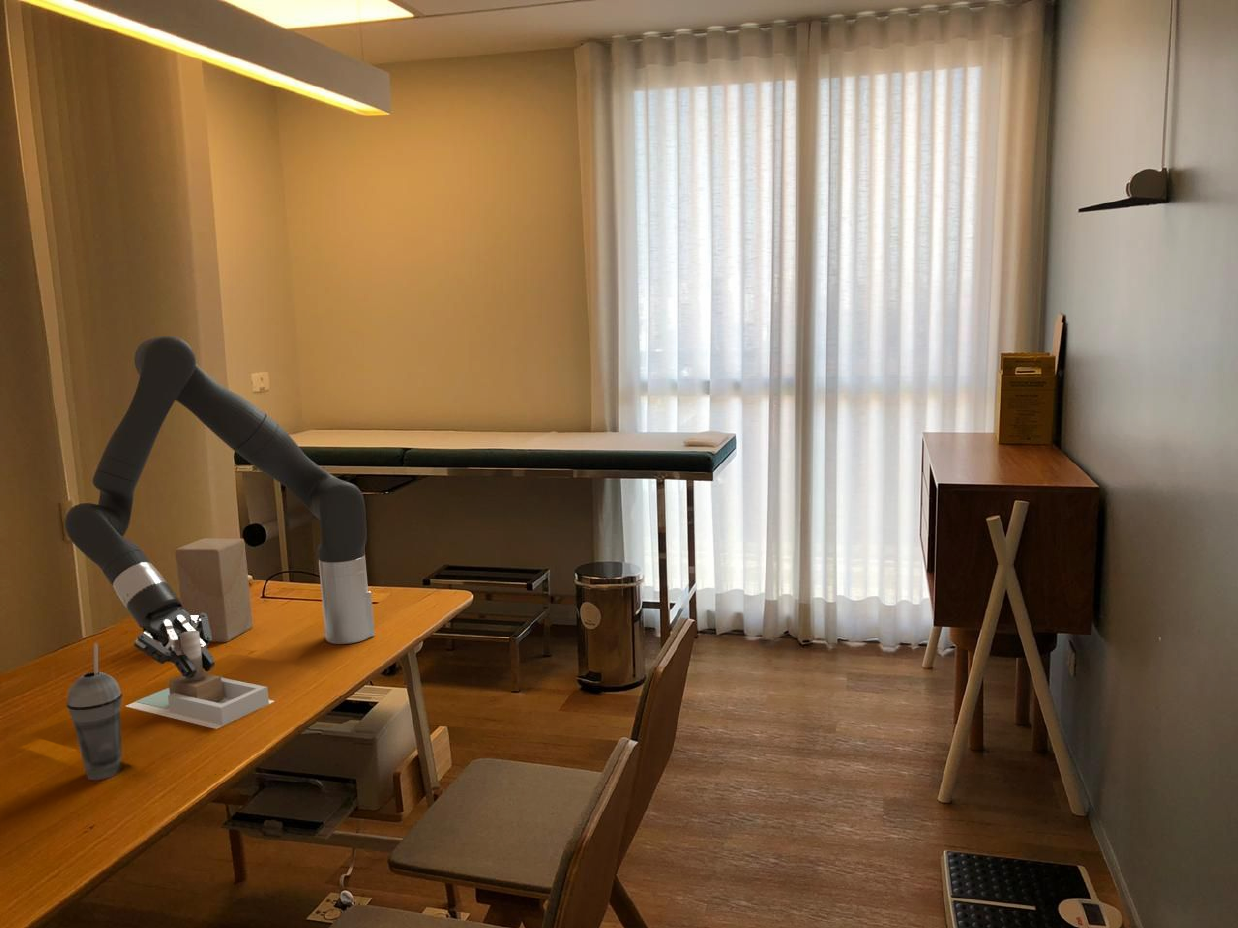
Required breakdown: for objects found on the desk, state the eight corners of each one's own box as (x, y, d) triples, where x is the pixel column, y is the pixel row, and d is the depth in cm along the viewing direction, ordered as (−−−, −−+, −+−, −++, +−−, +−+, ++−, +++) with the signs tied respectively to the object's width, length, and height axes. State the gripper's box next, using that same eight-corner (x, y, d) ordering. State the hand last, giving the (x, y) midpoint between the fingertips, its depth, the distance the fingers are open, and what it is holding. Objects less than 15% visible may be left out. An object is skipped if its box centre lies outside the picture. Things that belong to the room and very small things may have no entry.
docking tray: (275, 709, 166) (273, 684, 165) (217, 737, 156) (214, 710, 155) (186, 689, 177) (183, 665, 176) (125, 714, 166) (122, 689, 166)
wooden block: (227, 642, 202) (216, 549, 199) (184, 641, 204) (173, 549, 201) (254, 627, 212) (244, 537, 209) (213, 626, 214) (203, 537, 211)
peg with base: (223, 698, 167) (215, 631, 165) (198, 709, 162) (190, 640, 160) (195, 692, 170) (188, 626, 168) (170, 702, 166) (162, 635, 164)
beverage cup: (90, 763, 148) (73, 637, 145) (139, 759, 149) (123, 634, 145) (67, 786, 141) (49, 654, 138) (119, 782, 141) (102, 651, 138)
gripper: (117, 592, 160) (174, 673, 157) (189, 571, 173) (244, 645, 169) (101, 619, 164) (156, 699, 160) (173, 596, 176) (227, 670, 172)
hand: (201, 671), depth 164 cm, fingers closed on peg with base, 3 cm apart
